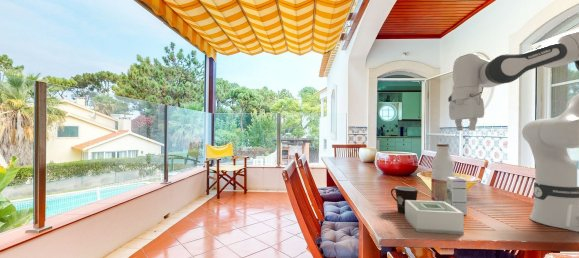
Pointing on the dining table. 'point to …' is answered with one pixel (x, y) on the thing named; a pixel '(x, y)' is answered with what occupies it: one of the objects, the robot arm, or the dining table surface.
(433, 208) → the small crate
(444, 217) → the box
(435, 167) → the fruit juice
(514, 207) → the dining table surface
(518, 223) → the dining table surface
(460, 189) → the syrup box
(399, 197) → the coffee mug
